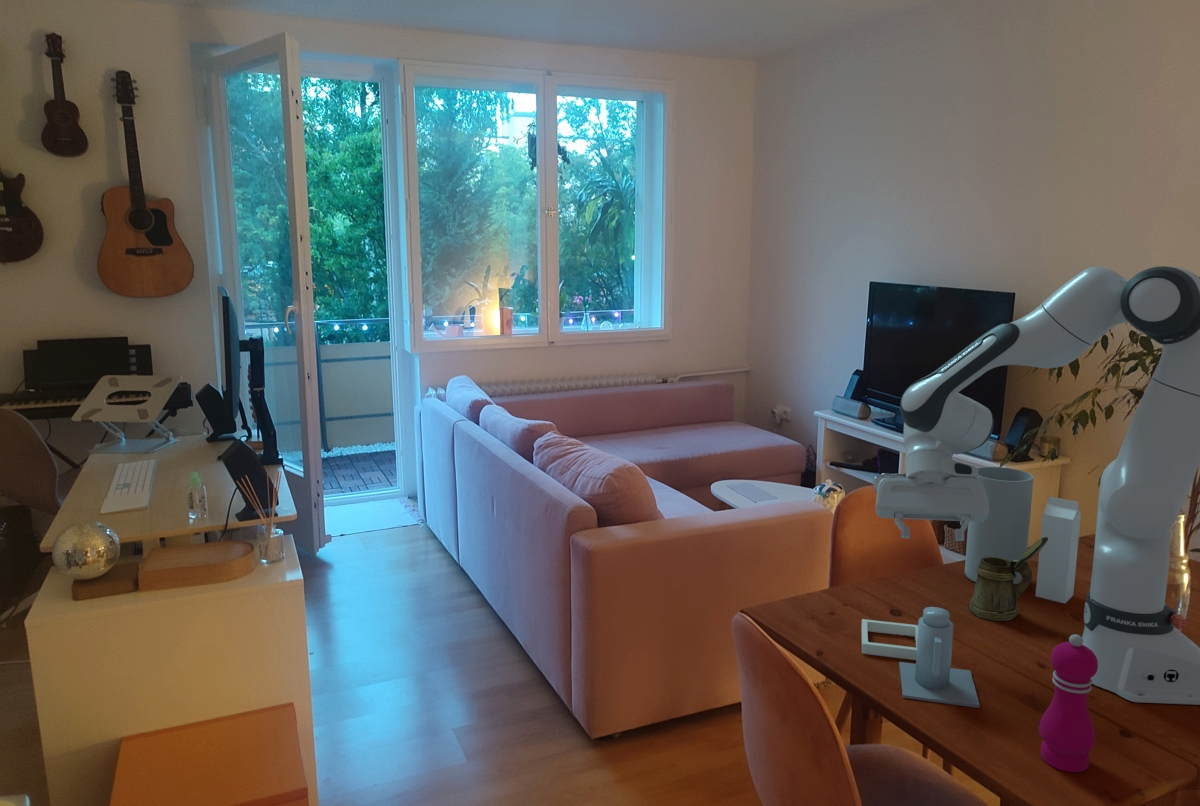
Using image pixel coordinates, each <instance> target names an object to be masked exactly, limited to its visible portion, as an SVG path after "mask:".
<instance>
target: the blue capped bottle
mask: <svg viewBox="0 0 1200 806" xmlns="http://www.w3.org/2000/svg"><path fill="white" fill-rule="evenodd" d="M922 612H923V613H922V616H921V617H919V619H918V623H917V625H918V637H917V653H916V660H915V664H916V669H915V681H916V682H917V683H918V684H919V685H920V686H922V687H925V688H928V689H932V690H943V689H946V688H948V687H949V681H950V668H952V667H951V666H952V665H951V664H952V650H953V638H954V637H953V636H954V623H953V622H952V621H951V620H950V617H951V613H950V612H949V611H948V610H947V609H944V608H942V607H936V606H929V607H928V606H927V607H924V609H923V611H922Z"/></svg>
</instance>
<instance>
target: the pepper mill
mask: <svg viewBox="0 0 1200 806" xmlns="http://www.w3.org/2000/svg"><path fill="white" fill-rule="evenodd" d="M1082 637H1083V636H1081V635H1079V634H1072V635H1070V636H1069V638H1068V641H1065V642H1062V643H1059V644H1057V645H1056V646H1054V647H1053V649H1052V651H1051V653H1050V663H1051V667H1052V668H1053V669H1054V671H1053V672H1052V676H1053V677H1052V679H1051V680H1052V683H1053V684H1054V694H1053V697H1052V700H1051V702H1050V704H1049V706H1048V707H1047V708H1046V710H1045V712H1044V713H1043V715H1042V716H1041V719H1040V722H1039V728H1038V730H1039V735H1040V738H1041V739H1043V740H1042V742H1041V744H1040V745H1041V746H1040V756H1041V758H1042V759H1043V761H1044V762H1045V763H1046V764H1047V765H1050V767H1052V768H1055V769H1057V770H1060V771H1063V772H1067V773H1082V772H1085V771H1086V770H1088V768H1089V765H1090V753H1089V751H1091V750H1092V749H1093V748H1094V747H1095V744H1096V733H1095V727H1094V725H1093V722H1092V720H1091V716H1090V714H1089V709H1088V704H1087V703H1088V700H1087V697H1088V693H1089V692H1091V691H1092V688H1093V687H1092V685H1093V684H1092V680H1091V677H1093V676H1094V675H1095V674H1096V672H1097V669H1098V661H1097V658H1096V656H1095V654H1094V653H1093V651H1092V650H1090V649H1089V648H1088V647H1086V646H1084V645H1082V644H1083V639H1082Z"/></svg>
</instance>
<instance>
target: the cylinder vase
mask: <svg viewBox="0 0 1200 806" xmlns="http://www.w3.org/2000/svg"><path fill="white" fill-rule="evenodd" d="M976 468H977V469H978V480H979V481H981V483H982V484H983V485H984V488H985V491H986V494H987V498H988V504H989V514H988V517H987V519H986V520H985V521H983V522H971V521H969V525H968V527H967V533H966V535H967V537H966V548H965V549H966V551H965V552H966V553H965V564H964V575H965V576H966V577H967V578H968V579H969V580H970V581H972V582H974V583H976V579H977V575H978V573H977V568H978V565H979V564H980V561H981V558H983V557H998V558H1003V559H1006V560H1008V561H1009V562H1011V560H1020V559H1021V557H1022V556H1023V555H1024V553H1025V552H1026V551H1027V550H1028V549H1029V548H1028V547H1029V535H1030V534H1029V533H1030V525H1031V514H1032V513H1031V511H1032V499H1033V492H1034V491H1033V488H1034V479H1035V478H1034V475H1033V474H1032V473H1029V472H1027V471H1024V470H1020V469H1018V468H1011V467H1003V466H981V467H976ZM1015 574H1016V578H1014V579H1013V583H1014V584H1019V583H1020V582H1021V581H1022V576H1021V574H1020V573H1019V572H1015Z"/></svg>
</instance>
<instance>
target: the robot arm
mask: <svg viewBox="0 0 1200 806" xmlns="http://www.w3.org/2000/svg"><path fill="white" fill-rule="evenodd" d="M1124 323H1125V324H1126V323H1129V324H1130V326H1132V327H1133V328H1134V329H1136V330H1137V331H1139V332H1141V333H1142V334H1144V335H1146V336H1147V337H1149V338H1150V339H1152V340H1153V341H1155V342H1156V343H1157V344H1160V345H1161V346H1162V351H1161V356H1160V359H1159V362H1158V363H1157V365H1156V367H1155V370H1154V372H1153V374H1151V375H1152V376H1151V378H1150V380H1149V382H1148V384H1147V386H1146V389H1145V390H1144V393H1143V395H1142V396H1141V399H1140V401H1139V403H1138V406H1137V407H1136V409H1135V412H1134V414H1133V415H1132V418H1131V421H1130V424H1129V426H1128V429H1127V432H1126V434H1125V436H1124V439H1123V441H1122V444H1121V446H1120V450H1119V452H1118V454H1117V456H1116V459H1114V460H1113V461H1112V462H1110V463H1109V464H1108V465H1107V466H1106V467H1105V468H1104V470H1103V472H1102V474H1101V477H1100V482H1099V493H1098V504H1097V505H1098V506H1097V515H1096V524H1095V525H1096V526H1095V528H1096V529H1095V537H1094V538H1095V540H1094V548H1093V549H1094V550H1093V560H1092V569H1091V578H1090V589H1089V591H1088V592H1087V593H1086V601H1085V603H1084V608H1083V609H1084V611H1083V621H1084V629H1083V633H1082V636H1081V637H1082V639H1083V644H1082V645H1084V646H1086V647H1088V648H1089V649H1090V650H1092V651H1093V653H1094V654H1095V656H1096V658H1097V661H1098V669H1097V672H1096V674H1095V675H1094V676H1093V677H1091V680H1092V684H1091V685H1094V686H1096V687H1099V688H1102V689H1104V690H1108V691H1109V692H1112V693H1114V694H1117V696H1119V697H1121V698H1123V699H1125V700H1127V701H1130V702H1133V703H1142V704H1143V703H1144V704H1145V703H1147V704H1148V703H1149V704H1169V705H1170V704H1171V705H1174V704H1175V705H1194V706H1195V705H1198V706H1199V705H1200V647H1199V646H1198V645H1197V644H1196V643H1195V642H1194V641H1192V640H1191V639H1190V638H1189V637H1187V636H1186V635H1185V634H1183V633H1182V631H1180V630H1184V629H1185V628H1187V627H1188V626H1187V625H1188V621H1187V620H1186V619H1185V618H1184V616H1183V615H1181V614H1178V613H1177V612H1176V610H1174V609H1173V607H1170V606H1169V605H1168V604H1167V603H1166V602H1165V601H1166V595H1167V586H1168V579H1169V578H1168V577H1169V570H1170V569H1169V568H1170V551H1171V537H1172V536H1171V534H1172V533H1171V532H1172V531H1171V530H1172V527H1173V525H1174V524H1175V523H1176V521H1177V519H1178V517H1179V515H1180V512H1181V509H1182V507H1183V505H1184V503H1185V501H1186V498H1187V496H1188V494H1189V492H1190V489H1191V488H1192V487H1191V486H1192V484H1193V482H1194V480H1195V476H1196V474H1197V470H1198V469H1199V467H1200V276H1198V275H1197V274H1195V273H1194V272H1192V271H1191V270H1188V269H1185V268H1182V267H1178V266H1166V265H1165V266H1159V265H1158V266H1152V267H1149V268H1146V269H1143V270H1142V271H1140V272H1138V273H1136V274H1135V275H1134V276H1133V277H1131V278H1130V279H1128V278H1125V277H1123V276H1122V275H1121V274H1119V273H1118V272H1116V271H1114V270H1112V269H1110V268H1107V267H1103V266H1092V267H1088V268H1086V269H1084V270H1082V271H1081V272H1079V273H1077V274H1076V275H1074V276H1073V277H1072V278H1070V279H1069V280H1068V281H1066V282H1065V283H1064V284H1063V285H1061V286H1059V287H1058V288H1057V289H1056V290H1055V291H1054V292H1053V293H1052V294H1050V295H1049V296H1048V297H1047V298H1046V299H1045V300H1044V301H1043V302H1041V304H1040V305H1038V306H1037V307H1036V308H1034V309H1033V310H1032V311H1031V312H1029V313H1028V314H1026V315H1024V316H1022V317H1020V318H1018V319H1017V320H1014V321H1011V322H1008V323H1001V324H999V325H996V326H995V327H994V326H993V328H990V330H988V331H986V332H985V333H983V334H982V335H980V336H979V337H977V338H976V339H975V340H974V341H972V342H971V343H970V344H968V345H967V346H966V347H964V348H963V349H962V350H961V351H959V352H958V353H957V354H956V355H954V356H953V357H951V358H950V359H949V360H947V361H946V362H945V363H943V364H942V365H941V366H939V367H937V368H936V369H935V370H934V371H932V372H931V373H929V374H928V375H926V376H924V377H922V378H920V379H917V380H916V381H914V382H913V383H911V384H910V385H909V386H908V387H907V388H906V389H905V391H904V392H903V394H902V396H901V398H900V403H899V404H900V405H899V406H900V407H899V408H900V414H901V418H902V420H903V446H904V450H905V453H906V454H905V457H904V473H899V472H898V473H897V472H896V473H888V472H887V473H886V472H883V473H881V474H879V475H877V476H875V477H874V479H873V481H872V482H873V490H874V491H875V492H876V499H875V514H876V515H877V516H878V517H879V518H880V519H881V518H882V519H894V524H895V525H896V527H897V528H898V529H899V530H900V531H901V532H900V537H901V539H911V527H910V526H906V525H905V523H904V522H903V521H904V519H905V520H928V521H952V522H959V524H960V528H955V529H954V541H956V542H957V541H958V542H965V531H967V530H968V525H969V521H971V522H983V521H985V520H986V519H987V517H988V514H989V504H988V498H987V494H986V491H985V488H984V485H983V484H982V483H981V481H979V480H978V469H977V468H978V467H977V466H975V465H971V464H967V463H963V462H960V461H957V460H954V459H953V458H952V457H953V455H961V454H964V453H968V452H970V451H973V450H975V449H978V448H980V447H982V446H983V445H984V444H986V443H987V442H988V440H989V439H990V437H991V435H992V434H993V429H994V416H993V412H992V411H991V410H990V409H989V408H988V407H986V406H985V405H983V404H982V403H980V402H978V401H976V400H974V399H973V398H970V397H968V396H966V395H964V394H961V391H962V390H963V389H964V388H966V387H968V386H969V385H971V384H972V383H973V382H974V381H975V380H977V379H979V378H980V377H982V375H984V374H985V373H987V372H988V371H990V370H992V369H994V368H998V367H1001V366H1003V367H1004V366H1026V367H1033V368H1038V369H1039V368H1041V369H1054V368H1055V369H1056V368H1061V367H1064V366H1066V365H1068V364H1070V363H1072V362H1074V361H1076V360H1077V359H1079V358H1080V357H1081V356H1082V355H1083V354H1084V353H1085V352H1087V351H1088V350H1089V349H1090V348H1091V347H1092V346H1093V345H1094V344H1095V343H1097V342H1098V341H1099V340H1100V339H1101V338H1102V337H1103V336H1104V335H1105V334H1107V333H1108V332H1109V331H1111V330H1112V329H1113V328H1115V327H1117V326H1118V325H1121V324H1124ZM959 392H960V393H959Z"/></svg>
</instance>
